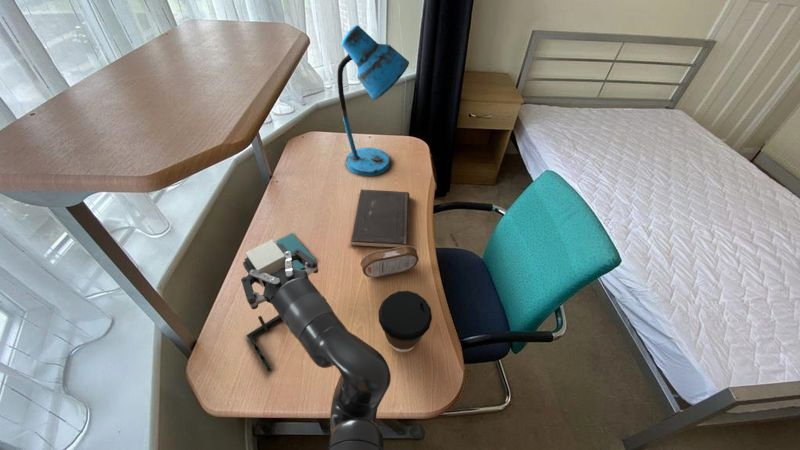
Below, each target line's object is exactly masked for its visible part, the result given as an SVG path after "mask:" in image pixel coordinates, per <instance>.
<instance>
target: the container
mask: <svg viewBox="0 0 800 450" xmlns="http://www.w3.org/2000/svg"><path fill="white" fill-rule="evenodd" d="M275 242H276V241H274V240H273V239H270V240H268V241H265V242H263V243H262V244H260V245H258V246H256V247H254V248H252V249H250V250H248V251H245V255H246V258H247V257H248V259H249V260H250V261H251V263H252V264H253V266H254V267H255V269H256V270H257V271H258V273H260V272H261V273H262V272H264V273H266V274H268V275H270V274H272V273H274V272H277V271H279V270H280V269H281V268H283V267H285V259H286V257H285V255H284V254H283V252H282V251H281V250H280V249H279V247H278V246H277V245H276V244H275ZM264 289H265V288H263V290H264Z"/></svg>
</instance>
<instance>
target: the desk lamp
mask: <svg viewBox="0 0 800 450" xmlns="http://www.w3.org/2000/svg"><path fill="white" fill-rule="evenodd" d="M341 46H342V47H343V49H344V50H345V51H346V53H347V55H346V56H345V57H344V58H343V59H341V61H340V62H339V64H338V67H337V71H336V74H337V75H336V79H337V82H336V83H337V93H338V98H339V104H340V105H339V106H340V110H341V116H342V120H343V123H344V128H345V132H346V136H347V139H348V143H349V146H350V150H351V151H350V152H349V153H348V154H347V156H346V160H345V161H346V166H347V169H348V170H349V172H351V173H353V174H356V175H358V176H363V177H372V176H377V175H380V174H382V173H385V172H386V171H387V170H388V169H389V167H390V156H389V155H388V153H386V152H385V151H384V150H382V149H380V148H375V147H360V148H356V145H355V141H354V138H353V133H352V130H351V125H350V121H349V117H348V111H347V105H346V99H345V93H344V79H343V78H344V75H343V73H344V69H345V67H346V65H347V64H349V63H350V62H351V61H353V62H354V64H355V65H356V67H357V79H358V80H359V82H360V83H361V85H362V86H363V88H364V89H365V91H366V92H367V94H368V95H369V97H370V98H371V100H372V101H376V100H378V99H380V98H381V97H383V96H384V95H385V94H386V93H387V92H388V91H389V90H390V89H392V88H393V86H394V85H395V84H397V82H398V81H399V80H400V78H401V77H402V76H403V75H404V74H405V72H406V71H407V69H408V67H409V65H410V61H409V60H408V59H407V58H406V57H405V56H403V55H402V54H401V53H400V52H398V51H397V50H396V49H395V48H394V47H393V46H391V44H388V43H387V44H386V43H378V42H377V41H376V40H375V39H373V37H371V36H370V34H368V33H367V32H366V31H365V30H364V29H363V28H362V27H361V26H360V25H357V24H356V25H354V26H352V28H350V29H349V30H348V31H347V32H346V34H345V35H344V37H343V38H342V41H341Z"/></svg>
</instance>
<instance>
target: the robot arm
mask: <svg viewBox="0 0 800 450" xmlns="http://www.w3.org/2000/svg"><path fill="white" fill-rule="evenodd" d="M275 242H276V241H275ZM275 244H276V245H277V246H278V247H279V249H280V250H281V251H282V252H283V254H284V255H285V257H286V259H285V267H283V268H281V269H280V270H279V271H277V272H274V273H272V274H270V275H268V274H266V273H264V272H262V273H261V272H260V273H258V271H257V270H256V269H255V267H254V266H253V264H252V263H251V261H250V260H249V259H248V257H247V256H246V257H245V258H243V260H244V261H243V262H242V266H243V268H244V269H245V271H246V272H247V275H246V276H243V277H241V279H240V281H241V284H242V288H243V291H244V294H245V297H246V301H247V303H248V305H249V306H250V308H251V310H256V309H258V307H259V305H260V304H262V303H266V302H267V303H269V304H271V305H272V306H273V308H274V310H275V311H276V312H277V313H278V315H280V317H281V318H282V320H283V321H282V322H283V323H284V324H285V325H286V327H287V328H288V330H289V331H290V333H291V334H292V335H293V337H295V339H296V340H297V341H298V342H299V343H300V345H301V346H302V348H303V349H304V350H305V352H306V353H307V355H308V356H309V357H310V359H311V360H312V362H313V363H314V364H315V365H316V366H317V367H318V368H322V369H328V368H331V367H333V366H334V367H335V368H336V369H337V370H338V371H339V373H340V376H339V379H338V380H337V383H336V385H335V387H334V390H333V394H332V400H331V406H330V419H329V420H330V421H329V441H328V444H327V449H326V450H385V445H384V444H385V443H384V435H383V433H382V430H381V428H380V426H378V425H377V414H378V408H379V406H380V404H381V402H382V400H383V398H384V397H385V395H386V394H387V391H388V389H389V387H390V385H391V381H392V380H391V379H392V375H391V370H390V367H389V365H388V362H387V361H386V359H385V357H384V356H383V355H382V354H381V353H380V352H379V351H378V350H377V349H376V348H374V347H373V346H371V345H370V344H369V343H367V342H366V341H364V340H363V339H361V338H360V337H359V336H357V335H355V334H354V333H352V332H351V331H350V330H349V329H348V328H347V327H346V325H345V324H344V323H343V322H342V321H341V319H340V318H339V317H338V315H337V314H336V313H335V311H334V310H333V308H332V306H331V305H330V304H329V302H328V301H327V299H326V297H324V295H322V293H320V291H319V290H318V288H317V287H316V286H315V285H314V283H313V282H312V281H311V280H310V279H309V276H311V275H312V274H317V273H319V266H318V262H317V260H316V259H315V258H314V259H315V260H316V261H315V260H314V259H312V258H311V257H310V256H308V255H307V254H306V253H304V252H303V251H302V250H300V249H295V250H294V251H293V252H290V251H288V250H287V249H286V248H285V246H284V245H283V244H281V243H280V244H278V242H276V243H275ZM295 260H297V261H299V262H300V263H301V264H303V265H304V266H305V268H304V269H302V270H300V269H296V268H294V264H293V261H295ZM254 284H257V285H260V286H261V287H262V288H263V294H260V293H259V292H258V291H255V290H254V288H253V285H254ZM264 288H265V289H264ZM0 450H25V449H24V448H21V447H19V446H16V445H14V444H11V443H9V442H6V441H3V440H1V439H0Z"/></svg>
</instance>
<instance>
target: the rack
mask: <svg viewBox="0 0 800 450" xmlns="http://www.w3.org/2000/svg"><path fill="white" fill-rule="evenodd" d="M257 319H258V321H259V322H260V326H258V327H257V328H255V329H254V330H252V331H251V332H249V333H247V334H246V337H247V339H248V341H249V342H250V344H251V346H252V348H253V349H254V350H255V352H256V354H257V356H258V358H259V359H260V361H261V362H262V364H263V366H264V367H265V369H266V371H267V372H269V371H270V370H272V367H271V365H270V363H269V362H268V360H267V359H266V357H265V355H264V354H263V353H262V351H261V349H260V347H259V346H258V344H257V342H256V341H255V339H254V337H257V335H259V334H260V333H262V332H263V331H264V332H269V329H268V328H270V327H272V326H273V325H274V324H276V323H278V322H280V321H281V322H284V321H283V320H282V318H281V317H280V315H279V314H278V315H276V316H275V317H273V318H272V319H270V320H268V321H267V322H265V320H264V319H263V316H262V315H258V317H257Z"/></svg>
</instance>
